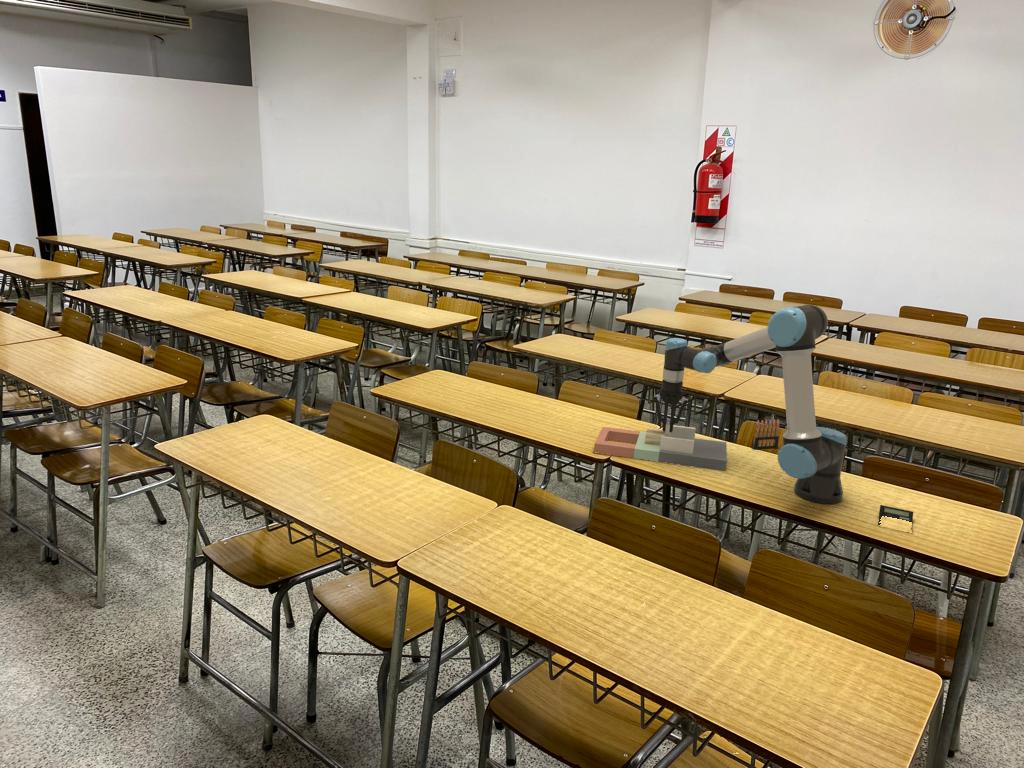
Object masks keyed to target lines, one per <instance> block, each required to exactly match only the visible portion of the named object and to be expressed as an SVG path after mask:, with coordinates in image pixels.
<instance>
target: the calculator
mask: <svg viewBox="0 0 1024 768" xmlns="http://www.w3.org/2000/svg"><path fill="white" fill-rule="evenodd" d="M882 516H884V517H885V516H887V517H892V518H897V519H902V520H906V521H909V522H912V523H913V520H914V511H913V510H912V511H911V510H907V509H903V508H897V507H892V506H888V505H883V504H880V505H879V512H878V519H879V521H878V520H877V522H878V523H877V526H878V525H880V524H881V523H879V522H880V521H881V520H880V519H881V517H882Z"/></svg>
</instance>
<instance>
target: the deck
mask: <svg viewBox="0 0 1024 768" xmlns="http://www.w3.org/2000/svg"><path fill="white" fill-rule="evenodd" d="M696 429H697V427H690V426H683V425H674V424H673V431H672V432H669V437H665V436H661V442H660V446H659V445H651V444H645V437H646V431H641V430H640V431H639V430H633V429H632V430H631V429H623V428H616V427H610V426H609V427H608V426H602V428H601V430H600V432H599V434H598V436H597V438H596V440H595V441H594V449H593V453H594V452H599V453H603V454H609V455H608V456H610V455H613V456H612V457H618V456H622V457H621V458H625V457H629V458H628V459H632V458H635V459H634V460H640V459H644V460H643V461H647V460H650V461H649V462H655V461H658V462H657V463H662V462H667V463H666V464H669V463H673V464H672V465H677V464H680V465H679V466H684V465H685V467H691V466H693V467H692V468H701V469H706V468H707V469H708V470H714V471H715V470H716V471H722V472H726V471H727V462H728V461H727V460H728V459H727V455H728V453H727V452H728V451H727V441H720V440H719V441H718V440H713V439H712V440H711V439H704V438H696ZM610 440H612V441H610ZM618 441H620V442H618ZM625 442H628V443H625ZM633 443H635V444H633ZM603 454H602V455H603Z"/></svg>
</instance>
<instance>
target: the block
mask: <svg viewBox="0 0 1024 768" xmlns="http://www.w3.org/2000/svg"><path fill="white" fill-rule="evenodd" d="M645 432H646V437H645V444H651V445H659V446H660V442H661V436H665V431H663V430H662V429H660V428H659V429H658V428H652V427H651V428H650V427H647V428H646V431H645Z"/></svg>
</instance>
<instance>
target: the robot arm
mask: <svg viewBox="0 0 1024 768" xmlns="http://www.w3.org/2000/svg"><path fill="white" fill-rule="evenodd" d="M828 324H829V320H828V316H827V314H826V312H825V311H824V310H823V309H822V308H821V307H819V306H817V305H814V304H804V305H798V306H788V307H785V308H783V309H780V310H778V311H776V312H775V313H774V314H773V315H772V316H771V317H770V319H769V321H768V323H767V326H766V327H763V328H760V329H758V330H756V331H752V332H750V333H747V334H745V335H742V336H740V337H736V338H735V339H731V340H730V341H726V342H724V343H721V344H718V345H714V346H710V347H705V348H700V349H697V348H693V347H689V346H688V341H687V339H684V338H682V337H681V338H679V337H671V338H668V339H667V340H666V344H665V349H664V362H663V364H664V365H663V370H662V381H661V389H660V392H659V393H657V394H656V395H654V396H653V400H654V403H655V406H656V407H655V408H656V413H657V420H658V422H660V423H662V428H661V430H663V431H665V437H669V432H672V431H673V425H674V424H678V423H679V422H680V419H681V416H682V414H683V411H684V409H685V407H686V405H687V404H688V403H689V399H688V398H685V396H684V395H683V387H684V385H683V383H684V382H683V380H684V376H685V369H687V370H691V371H694V372H695V371H696V372H698V373H704V374H710V373H712V372H713V371H714V370H715V368H718V367H723V366H728V365H730V364H731V363H734V362H736V361H739V360H741V359H742V360H743V359H745V358H748V357H751V356H754V355H758V354H760V353H763V352H766V351H768V350H772V349H774V348H775V352H776V353H777V354H778V355H780V357H781V362H782V363H781V365H782V377H783V391H784V403H785V404H784V406H785V414H786V415H785V416H786V417H785V418H786V429H787V430H786V431H785V432H784V433H783V435H782V444H783V445H782V446H781V447H780V449H779V450H778V452H777V462H778V465H779V467H780V469H781V470H782V471H783V472H784V473H785V474H786V475H788V477H790V478H794V479H796V481H795V483H794V488H793V492H794V494H796V495H797V496H798V497H800V498H802V499H804V500H806V501H809V502H812V503H817V504H822V505H823V504H825V505H833V504H838V502H839V503H840V502H842V500H843V496H844V490H843V486H842V485H843V484H842V479H841V474H842V469H843V462H844V458H845V453H846V447H847V439H848V438H847V435H846V434H845V433H843V432H842V431H839V430H836V429H833V428H829V427H822V426H817V423H816V409H815V395H814V392H815V391H814V381H813V379H814V378H813V367H812V353H813V352H814V351H815V350H816V348H817V347H816V340H817V339H819V338H821V337H822V336H823V335H824V334H825V332H826V331H827V329H828ZM661 400H662V401H663V403H664V410H663V415H662V407H661ZM679 402H681V404H680V407H679V410H678V412H677V414H676V417H675V411H676V410H675V409H676V405H677V404H678V403H679ZM669 405H671V411H670V419H669V420H670V421H669V422H668V421H667V420H668V412H669Z"/></svg>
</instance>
